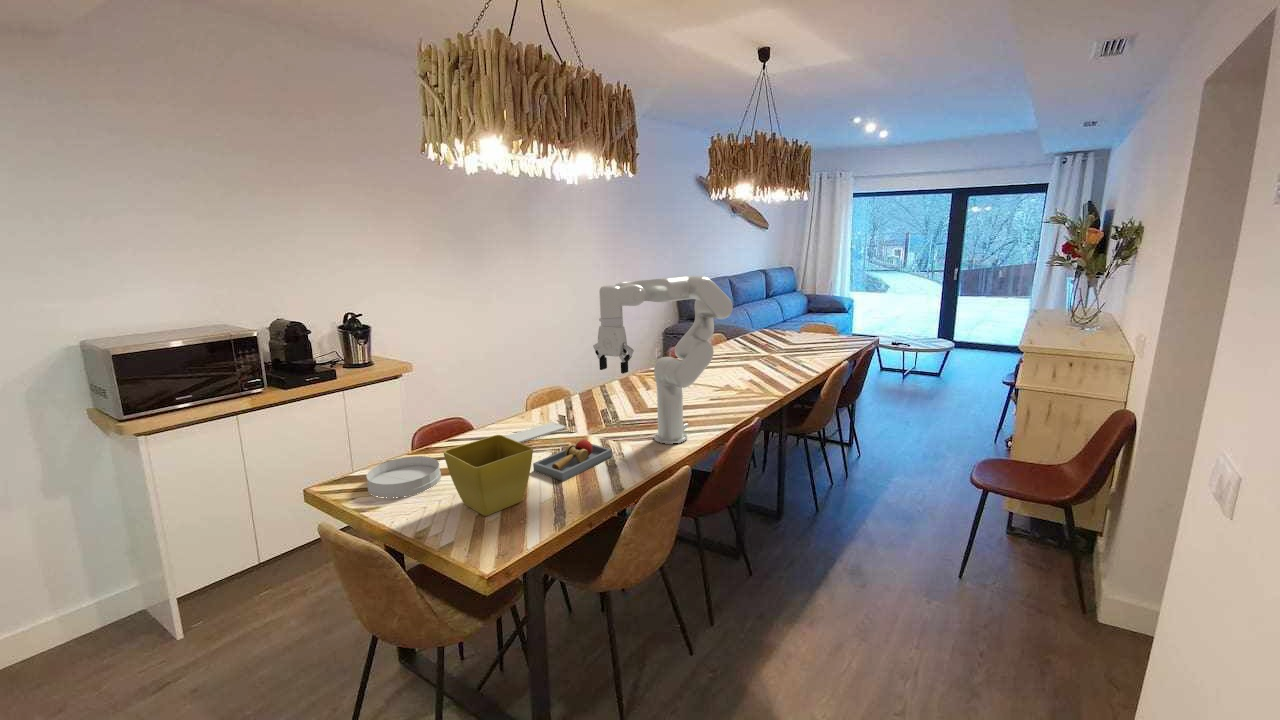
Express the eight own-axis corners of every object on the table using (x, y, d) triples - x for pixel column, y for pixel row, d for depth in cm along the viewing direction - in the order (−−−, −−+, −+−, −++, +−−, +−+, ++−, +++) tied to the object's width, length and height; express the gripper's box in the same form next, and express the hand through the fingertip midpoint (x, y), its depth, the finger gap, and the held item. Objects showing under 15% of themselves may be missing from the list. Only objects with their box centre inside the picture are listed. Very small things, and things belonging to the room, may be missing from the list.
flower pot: (503, 482, 179) (498, 433, 175) (538, 500, 166) (534, 447, 162) (447, 504, 165) (441, 451, 162) (481, 525, 153) (475, 468, 149)
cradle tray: (583, 448, 205) (582, 441, 204) (612, 456, 197) (611, 449, 196) (533, 471, 187) (533, 463, 186) (563, 481, 178) (562, 473, 178)
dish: (455, 475, 186) (454, 461, 185) (404, 504, 167) (402, 489, 165) (406, 465, 195) (404, 452, 194) (351, 493, 175) (349, 478, 174)
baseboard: (482, 443, 215) (498, 451, 206) (482, 436, 214) (497, 444, 206) (549, 423, 235) (566, 430, 227) (549, 417, 235) (566, 423, 226)
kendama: (567, 478, 181) (600, 452, 195) (561, 461, 180) (595, 436, 194) (550, 477, 186) (583, 452, 200) (544, 460, 185) (578, 436, 199)
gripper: (585, 321, 192) (588, 370, 196) (624, 325, 182) (626, 376, 185) (600, 318, 198) (602, 365, 202) (638, 322, 187) (640, 371, 191)
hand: (613, 370), depth 193 cm, fingers open, 9 cm apart
